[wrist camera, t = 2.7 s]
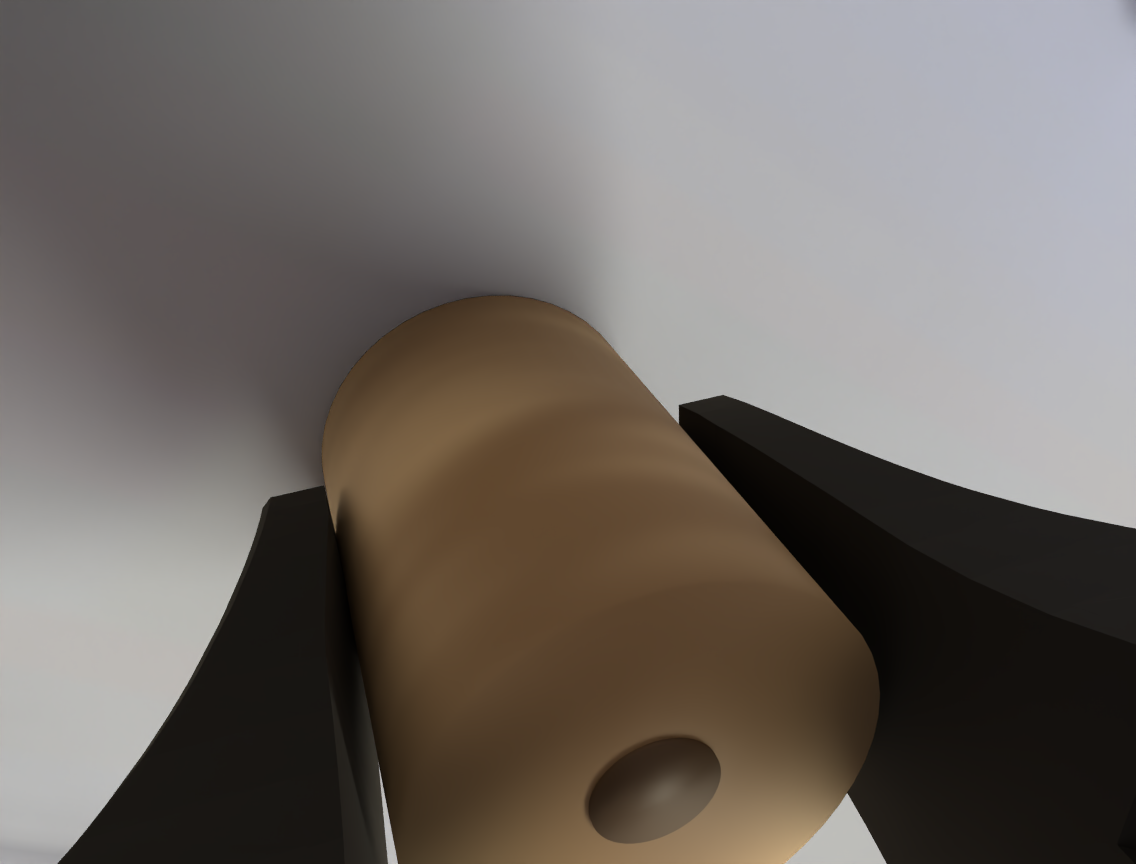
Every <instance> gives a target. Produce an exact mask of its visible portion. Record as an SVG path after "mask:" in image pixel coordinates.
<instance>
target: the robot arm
mask: <svg viewBox="0 0 1136 864" xmlns="http://www.w3.org/2000/svg"><path fill="white" fill-rule="evenodd" d="M679 425H680V426H681V428H682V429H683V430H684V431H685V432H686V433H687V434H688V436H689V437H690V438H691V439H692V440H693V441H694V443H695V444H696V445H697V446H698V447H699V448H700V449H701V451H702V452H703V453H704V454H705V455H706V456H707V457H708V459H709V460H710V461H711V462H712V463H713V464H714V466H715V467H716V468H717V469H718V470H719V471H720V472H721V474H722V475H723V476H724V477H725V478H726V479H727V481H728V482H729V483H730V484H731V485H732V486H733V487H734V489H735V490H736V491H737V492H738V493H739V494H740V495H741V497H742V498H743V499H744V500H745V501H746V502H747V504H748V505H749V506H750V507H751V508H752V509H753V510H754V512H755V513H756V514H757V515H758V516H759V517H760V518H761V520H762V521H763V522H764V523H765V524H766V525H767V527H768V528H769V529H770V530H771V531H772V532H773V533H774V535H775V536H776V537H777V538H778V539H779V540H780V542H781V543H782V544H783V545H784V546H785V547H786V548H787V550H788V551H789V552H790V553H791V554H792V555H793V556H794V558H795V559H796V560H797V561H798V562H799V563H800V565H801V566H802V567H803V568H804V569H805V570H806V571H807V573H808V574H809V575H810V576H811V577H812V578H813V579H814V581H815V582H816V583H817V584H818V585H819V586H820V588H821V589H822V590H823V591H824V592H825V593H826V594H827V596H828V597H829V598H830V599H831V600H832V601H833V603H834V604H835V605H836V606H837V607H838V608H839V609H840V611H841V612H842V613H843V614H844V615H845V616H846V617H847V619H848V620H849V621H850V622H851V623H852V624H853V626H854V627H855V628H856V629H857V630H858V631H859V632H860V634H861V635H862V636H863V638H864V640H865V642H866V644H867V645H868V647H869V649H870V651H871V653H872V655H873V659H874V662H875V665H876V669H877V672H878V679H879V689H880V702H879V715H878V720H877V724H876V729H875V733H874V738H873V740H872V743H871V746H870V748H869V751H868V754H867V756H866V759H865V761H864V763H863V765H862V767H861V769H860V771H859V773H858V775H857V777H856V779H855V781H854V783H853V784H852V786H851V787H850V789H849V791H848V792H847V793H848V795H849V797H850V798H851V800H852V802H853V803H854V805H855V807H856V809H857V810H858V812H859V814H860V816H861V817H862V819H863V821H864V823H865V824H866V826H867V828H868V830H869V832H870V834H871V835H872V837H873V839H874V841H875V843H876V845H877V846H878V848H879V850H880V852H881V854H882V856H883V857H884V859H885V861H886V863H887V864H1136V529H1135V528H1129V527H1124V526H1119V525H1114V524H1109V523H1104V522H1099V521H1094V520H1089V519H1084V518H1079V517H1075V516H1070V515H1065V514H1060V513H1056V512H1052V511H1048V510H1044V509H1039V508H1035V507H1031V506H1027V505H1024V504H1020V503H1016V502H1013V501H1009V500H1005V499H1002V498H998V497H995V496H991V495H987V494H984V493H980V492H977V491H973V490H970V489H967V488H963V487H960V486H957V485H954V484H951V483H948V482H945V481H941V480H939V479H936V478H933V477H930V476H927V475H925V474H922V473H919V472H916V471H913V470H910V469H908V468H905V467H902V466H899V465H896V464H894V463H891V462H888V461H886V460H883V459H881V458H878V457H875V456H873V455H870V454H868V453H865V452H863V451H860V450H858V449H855V448H853V447H850V446H848V445H845V444H843V443H841V442H838V441H836V440H833V439H831V438H829V437H826V436H824V435H821V434H819V433H817V432H814V431H812V430H810V429H807V428H805V427H803V426H800V425H798V424H796V423H793V422H791V421H789V420H786V419H784V418H781V417H779V416H777V415H774V414H772V413H770V412H767V411H765V410H762V409H760V408H757V407H755V406H752V405H750V404H747V403H745V402H742V401H739V400H737V399H734V398H731V397H727V396H724V395H721V396H716V397H712V398H708V399H703V400H699V401H694V402H690V403H686V404H681V405H679ZM58 864H388V860H387V850H386V839H385V828H384V818H383V807H382V796H381V785H380V775H379V764H378V756H377V751H376V746H375V741H374V736H373V730H372V725H371V720H370V715H369V710H368V704H367V699H366V694H365V689H364V684H363V678H362V673H361V668H360V663H359V658H358V652H357V647H356V642H355V637H354V632H353V626H352V621H351V615H350V609H349V603H348V597H347V591H346V584H345V579H344V574H343V568H342V563H341V558H340V553H339V548H338V543H337V538H336V533H335V529H334V524H333V520H332V516H331V512H330V508H329V504H328V500H327V496H326V491H325V487H324V486H319V487H315V488H311V489H306V490H302V491H297V492H293V493H288V494H284V495H280V496H275V497H271V498H270V499H269V500H268V502H267V503H266V504H265V506H264V507H263V509H262V513H261V518H260V521H259V525H258V528H257V532H256V535H255V538H254V541H253V544H252V547H251V550H250V552H249V555H248V558H247V560H246V563H245V566H244V568H243V571H242V573H241V576H240V578H239V580H238V583H237V585H236V587H235V589H234V592H233V594H232V596H231V599H230V601H229V603H228V606H227V608H226V610H225V613H224V615H223V617H222V619H221V621H220V623H219V625H218V627H217V629H216V631H215V633H214V635H213V637H212V639H211V641H210V643H209V645H208V646H207V648H206V650H205V652H204V654H203V656H202V658H201V660H200V662H199V664H198V666H197V667H196V669H195V671H194V673H193V675H192V677H191V679H190V680H189V682H188V684H187V686H186V687H185V689H184V691H183V692H182V694H181V696H180V698H179V699H178V701H177V703H176V704H175V706H174V707H173V709H172V711H171V712H170V714H169V716H168V717H167V719H166V720H165V722H164V723H163V725H162V726H161V728H160V729H159V731H158V732H157V734H156V736H155V737H154V739H153V740H152V742H151V743H150V745H149V746H148V748H147V749H146V751H145V752H144V754H143V755H142V756H141V758H140V759H139V761H138V762H137V763H136V765H135V766H134V767H133V769H132V770H131V771H130V773H129V774H128V776H127V777H126V778H125V780H124V781H123V782H122V784H121V785H120V786H119V788H118V789H117V791H116V792H115V793H114V795H113V796H112V797H111V799H110V800H109V801H108V803H107V804H106V805H105V807H104V808H103V809H102V811H101V812H100V813H99V814H98V816H97V817H96V818H95V820H94V821H93V822H92V823H91V825H90V826H89V827H88V828H87V830H86V831H85V832H84V833H83V835H82V836H81V837H80V838H79V839H78V841H77V842H76V843H75V844H74V845H73V847H72V848H71V849H70V850H69V851H68V852H67V853H66V855H65V856H64V857H63V858H62V859H61V860H60V861H59V862H58Z"/></svg>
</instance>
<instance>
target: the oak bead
mask: <svg viewBox="0 0 1136 864" xmlns="http://www.w3.org/2000/svg"><path fill="white" fill-rule="evenodd" d="M322 468H323V474H324V481H325V486H326V491H327V497H328V502H329V507H330V512H331V516H332V520H333V524H334V529H335V533H336V538H337V543H338V548H339V553H340V558H341V563H342V568H343V574H344V579H345V584H346V591H347V597H348V603H349V609H350V615H351V621H352V626H353V632H354V637H355V642H356V647H357V652H358V658H359V663H360V668H361V673H362V678H363V684H364V689H365V694H366V699H367V704H368V710H369V715H370V720H371V725H372V730H373V736H374V741H375V746H376V751H377V756H378V762H379V767H380V772H381V777H382V782H383V788H384V793H385V798H386V803H387V808H388V814H389V819H390V824H391V829H392V834H393V840H394V845H395V850H396V855H397V860H398V864H784V863H785V862H786V861H788V860H789V859H790V858H791V857H792V856H793V855H794V854H795V853H796V852H797V851H798V850H800V849H801V848H802V847H803V846H804V845H805V844H806V843H807V842H808V841H809V840H810V839H811V837H812V836H813V835H814V834H815V833H816V832H817V831H818V830H819V829H820V828H821V827H822V826H823V825H824V823H825V822H826V821H827V820H828V818H829V817H830V816H831V814H832V813H833V812H834V811H835V809H836V808H837V807H838V806H839V804H840V803H841V801H842V800H843V798H844V797H845V795H846V794H847V792H848V791H849V789H850V787H851V786H852V784H853V783H854V781H855V779H856V777H857V775H858V773H859V771H860V769H861V767H862V765H863V763H864V761H865V759H866V756H867V754H868V751H869V748H870V746H871V743H872V740H873V738H874V733H875V729H876V724H877V720H878V715H879V702H880V689H879V679H878V672H877V669H876V665H875V662H874V659H873V655H872V653H871V651H870V649H869V647H868V645H867V644H866V642H865V640H864V638H863V636H862V635H861V634H860V632H859V631H858V630H857V629H856V628H855V627H854V626H853V624H852V623H851V622H850V621H849V620H848V619H847V617H846V616H845V615H844V614H843V613H842V612H841V611H840V609H839V608H838V607H837V606H836V605H835V604H834V603H833V601H832V600H831V599H830V598H829V597H828V596H827V594H826V593H825V592H824V591H823V590H822V589H821V588H820V586H819V585H818V584H817V583H816V582H815V581H814V579H813V578H812V577H811V576H810V575H809V574H808V573H807V571H806V570H805V569H804V568H803V567H802V566H801V565H800V563H799V562H798V561H797V560H796V559H795V558H794V556H793V555H792V554H791V553H790V552H789V551H788V550H787V548H786V547H785V546H784V545H783V544H782V543H781V542H780V540H779V539H778V538H777V537H776V536H775V535H774V533H773V532H772V531H771V530H770V529H769V528H768V527H767V525H766V524H765V523H764V522H763V521H762V520H761V518H760V517H759V516H758V515H757V514H756V513H755V512H754V510H753V509H752V508H751V507H750V506H749V505H748V504H747V502H746V501H745V500H744V499H743V498H742V497H741V495H740V494H739V493H738V492H737V491H736V490H735V489H734V487H733V486H732V485H731V484H730V483H729V482H728V481H727V479H726V478H725V477H724V476H723V475H722V474H721V472H720V471H719V470H718V469H717V468H716V467H715V466H714V464H713V463H712V462H711V461H710V460H709V459H708V457H707V456H706V455H705V454H704V453H703V452H702V451H701V449H700V448H699V447H698V446H697V445H696V444H695V443H694V441H693V440H692V439H691V438H690V437H689V436H688V434H687V433H686V432H685V431H684V430H683V429H682V428H681V426H680V425H679V424H678V423H677V422H676V421H675V420H674V418H673V417H672V416H671V415H670V414H669V413H668V411H667V410H666V409H665V408H664V407H663V406H662V405H661V403H660V402H659V401H658V400H657V399H656V398H655V396H654V395H653V394H652V393H651V392H650V391H649V390H648V388H647V387H646V386H645V385H644V384H643V383H642V382H641V380H640V379H639V378H638V377H637V376H636V375H635V373H634V372H633V371H632V370H631V369H630V368H629V367H628V365H627V364H626V363H625V362H624V361H623V360H622V359H621V357H620V356H619V355H618V354H617V353H616V352H615V350H614V349H613V348H612V347H611V346H610V345H609V344H608V342H607V341H606V340H605V339H604V338H603V337H602V336H601V334H600V333H598V332H597V331H596V330H595V329H594V328H593V327H591V326H590V325H589V324H588V323H587V322H585V321H584V320H582V319H580V318H579V317H577V316H576V315H574V314H572V313H571V312H569V311H566V310H564V309H562V308H560V307H557V306H555V305H553V304H550V303H546V302H542V301H539V300H535V299H531V298H524V297H516V296H482V297H474V298H466V299H462V300H458V301H454V302H450V303H446V304H443V305H441V306H438V307H435V308H433V309H430V310H428V311H425V312H422V313H421V314H419V315H417V316H415V317H413V318H411V319H409V320H407V321H406V322H404V323H402V324H401V325H399V326H398V327H396V328H395V329H393V330H392V331H390V332H389V333H388V334H386V335H385V336H383V337H382V338H381V339H380V340H379V341H378V342H377V343H376V344H375V345H373V346H372V347H371V348H370V349H369V350H368V351H367V352H366V353H365V354H364V355H363V356H362V358H361V359H360V360H359V361H358V362H357V363H356V365H355V366H354V367H353V368H352V369H351V371H350V372H349V374H348V375H347V377H346V379H345V380H344V382H343V383H342V385H341V386H340V388H339V390H338V392H337V394H336V396H335V399H334V401H333V403H332V405H331V408H330V411H329V414H328V417H327V420H326V424H325V428H324V435H323V441H322Z"/></svg>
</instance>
